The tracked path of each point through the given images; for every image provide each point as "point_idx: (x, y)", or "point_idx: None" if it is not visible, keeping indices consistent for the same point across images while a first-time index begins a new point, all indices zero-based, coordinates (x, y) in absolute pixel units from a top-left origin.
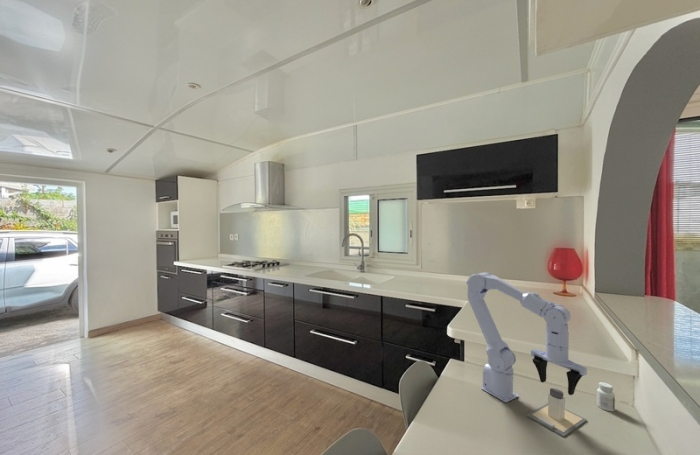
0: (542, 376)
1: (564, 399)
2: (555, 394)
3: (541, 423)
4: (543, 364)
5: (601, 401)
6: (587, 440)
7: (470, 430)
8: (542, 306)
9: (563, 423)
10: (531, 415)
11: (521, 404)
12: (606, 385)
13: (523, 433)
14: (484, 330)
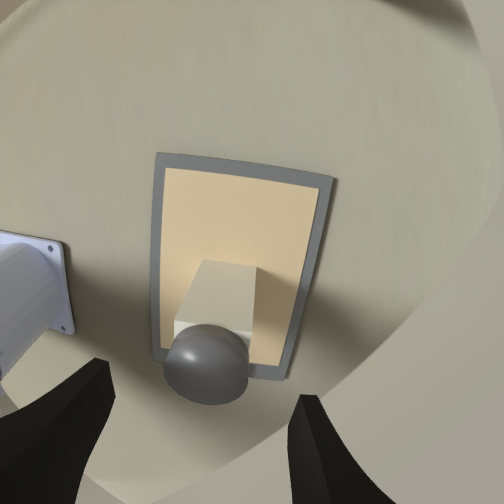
0: (96, 431)
1: (251, 327)
2: (213, 399)
3: None
4: (50, 497)
5: None
6: (348, 331)
7: (136, 468)
8: None
9: (263, 313)
10: (163, 351)
11: (99, 293)
12: None
13: (198, 430)
14: None
